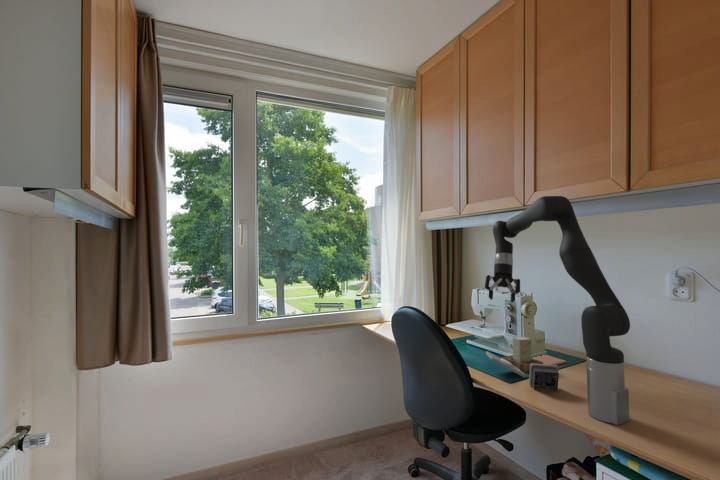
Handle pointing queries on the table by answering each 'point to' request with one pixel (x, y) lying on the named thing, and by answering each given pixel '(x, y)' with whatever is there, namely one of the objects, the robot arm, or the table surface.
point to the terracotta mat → (549, 360)
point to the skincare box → (522, 349)
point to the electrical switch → (544, 377)
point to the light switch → (505, 364)
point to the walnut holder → (522, 366)
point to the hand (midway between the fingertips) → (501, 300)
